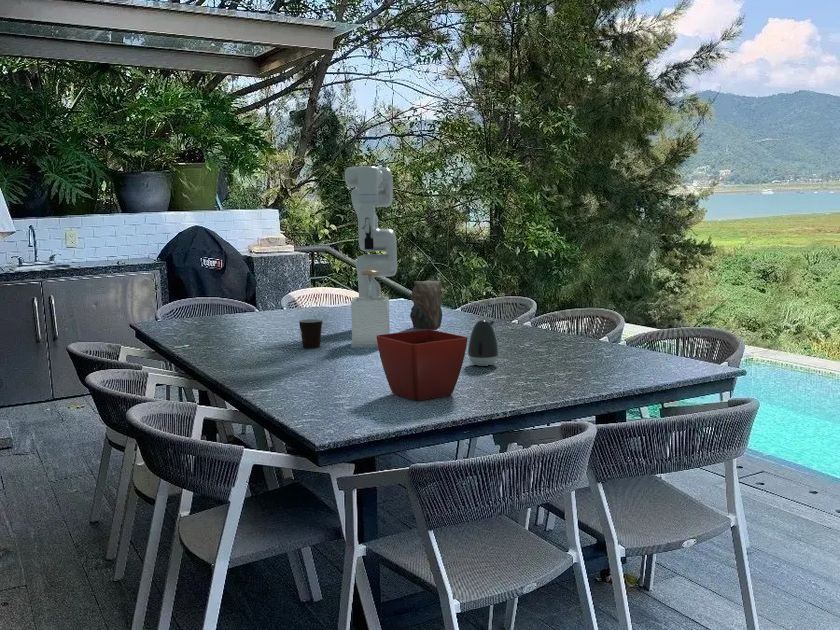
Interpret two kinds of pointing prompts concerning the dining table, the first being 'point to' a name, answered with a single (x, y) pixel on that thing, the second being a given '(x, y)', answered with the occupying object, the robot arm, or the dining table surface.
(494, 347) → the dark grey tapered dome
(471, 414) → the dining table surface
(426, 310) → the owl
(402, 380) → the plant pot
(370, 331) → the white open square box
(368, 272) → the plunger
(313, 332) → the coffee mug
